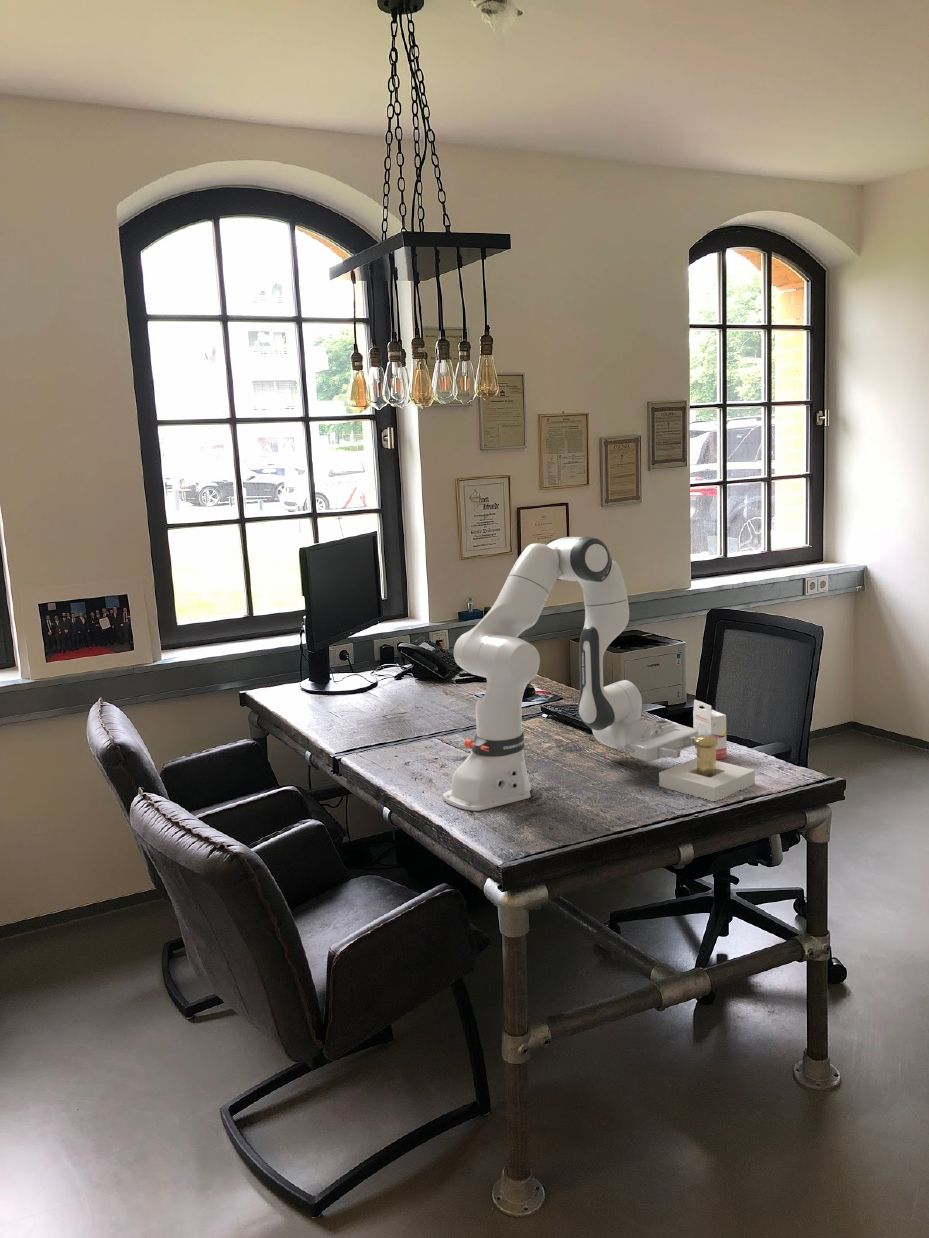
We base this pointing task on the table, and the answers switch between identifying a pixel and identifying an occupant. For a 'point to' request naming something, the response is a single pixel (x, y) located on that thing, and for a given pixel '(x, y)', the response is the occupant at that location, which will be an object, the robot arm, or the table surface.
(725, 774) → the socket block
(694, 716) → the ink cartridge box
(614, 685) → the robot arm
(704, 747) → the brass fitting
